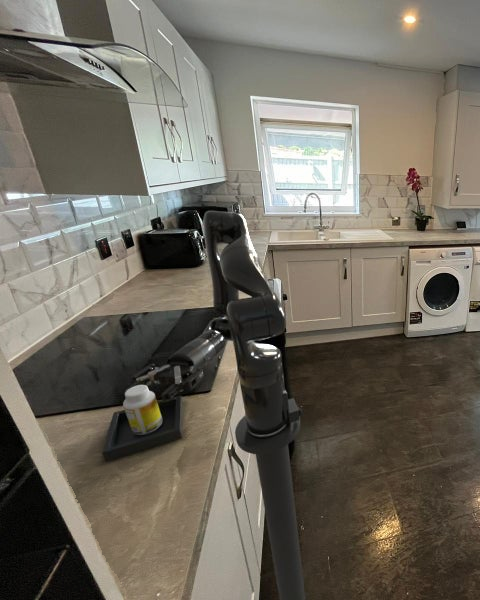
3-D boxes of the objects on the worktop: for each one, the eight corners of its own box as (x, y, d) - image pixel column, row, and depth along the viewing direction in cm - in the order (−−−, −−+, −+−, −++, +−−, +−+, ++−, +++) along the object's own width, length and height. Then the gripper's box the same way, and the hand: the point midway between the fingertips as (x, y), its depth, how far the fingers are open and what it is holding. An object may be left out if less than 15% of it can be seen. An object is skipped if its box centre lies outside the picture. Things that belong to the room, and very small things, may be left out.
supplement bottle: (166, 416, 76) (156, 380, 72) (158, 433, 72) (147, 396, 68) (138, 420, 75) (126, 384, 71) (128, 438, 70) (114, 401, 66)
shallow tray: (182, 403, 81) (180, 395, 80) (182, 438, 71) (179, 429, 70) (116, 420, 75) (113, 412, 74) (105, 462, 65) (101, 452, 64)
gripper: (164, 343, 85) (109, 380, 70) (216, 347, 85) (172, 385, 70) (170, 367, 88) (118, 407, 73) (221, 371, 88) (179, 413, 73)
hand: (144, 396), depth 71 cm, fingers open, 8 cm apart
